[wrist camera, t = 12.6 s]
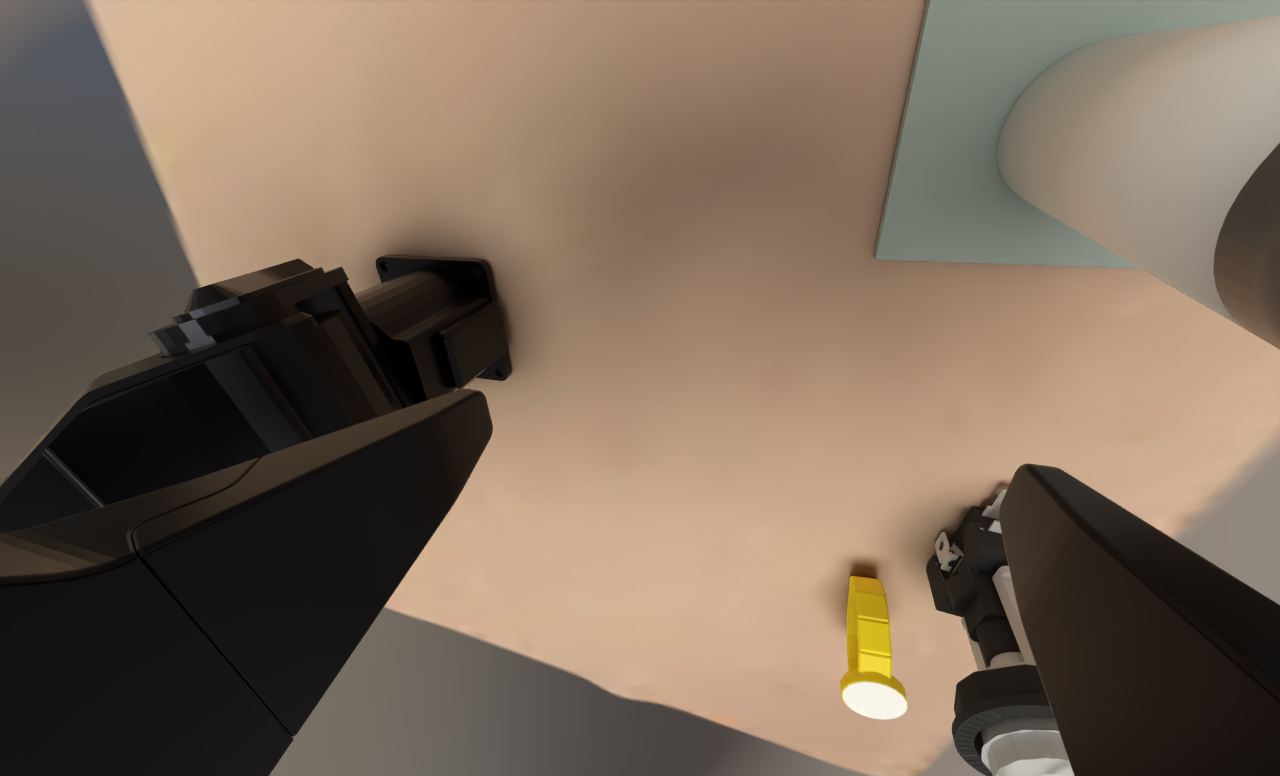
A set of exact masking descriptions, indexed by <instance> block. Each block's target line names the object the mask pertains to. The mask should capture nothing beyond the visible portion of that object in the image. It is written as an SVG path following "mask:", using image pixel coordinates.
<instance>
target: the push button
mask: <svg viewBox="0 0 1280 776" xmlns="http://www.w3.org/2000/svg"><path fill="white" fill-rule="evenodd" d="M1006 491H1007V489H1003V490H1002V491H1001V492H1000V494H999V495H998V497H997V499H996V500H995V502H994V503H993V505H992V506H989V505H988V506H987V507H986V509H985V510H980V509H975V508H972V509H971V510H970V511H969V513H968V514H967V516H966V518H965V519H964V521H963V522H962V524H961V526H960V527H959V529H958V530H957V532H956V534H955V535H954V537H953V539H952V540H951V542H950V543H949V541H948V538H947V535H946V533H945V532H941V534H940V536H939V538H938V539H937V541H936V543H935V549H936V553H937V556H938V559H937V558H931V559H930V561H929V562H928V564H927V568H926V572H927V576H928V580H929V583H930V587H931V591H932V595H933V599H934V603H935V607H936V609H937V610H938V611H942V612H945V613H949V614H953V615H956V616H960V617H963V618H962V620H961V621H962V625H963V628H964V629H965V630H966V631H967V635H968V638H969V641H970V645H971V648H972V651H973V655H974V658H975V661H976V664H977V668H978V671H977V672H974V673H972V674H970V675H969V676H967V677H966V678H964V679H963V680H961V681H960V682H958V684H957V686H956V695H955V704H954V711H955V715H956V717H955V719H954V721H953V724H952V734H953V738H954V743H955V746H956V749H957V751H958V753H959V754H960V755H961V757H962V758H963V759H964V760H965V761H966V762H967V763H968V764H969V765H971V766H972V767H973V768H975V769H976V770H977V771H979V772H981V773H982V774H984V775H986V776H1074V773H1073V771H1072V768H1071V765H1070V762H1069V759H1068V756H1067V753H1066V750H1065V747H1064V744H1063V742H1062V739H1061V736H1060V733H1059V730H1058V727H1057V724H1056V721H1055V718H1054V715H1053V713H1052V710H1051V707H1050V704H1049V701H1048V698H1047V695H1046V692H1045V689H1044V686H1043V684H1042V681H1041V678H1040V675H1039V672H1038V669H1037V666H1036V663H1035V660H1034V657H1033V655H1032V652H1031V649H1030V646H1029V643H1028V640H1027V637H1026V634H1025V631H1024V628H1023V625H1022V622H1021V618H1020V615H1019V611H1018V607H1017V603H1016V598H1015V593H1014V589H1013V584H1012V579H1011V575H1010V570H1009V565H1008V560H1007V556H1006V551H1005V546H1004V541H1003V537H1002V532H1001V527H1000V522H999V508H1000V505H1001V502H1002V500H1003V498H1004V496H1005V493H1006ZM942 541H943V543H944V547H943V550H942V551H941V548H940V547H941V543H942Z"/></svg>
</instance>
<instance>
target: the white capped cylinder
mask: <svg viewBox="0 0 1280 776" xmlns="http://www.w3.org/2000/svg"><path fill="white" fill-rule="evenodd" d="M997 160H998V167H999V170H1000V173H1001V176H1002V178H1003V180H1004V182H1005V184H1006V185H1007V186H1008V187H1009V189H1010V190H1011V191H1012V192H1013V193H1014V194H1016V195H1017V196H1018V197H1020V198H1022V199H1023V200H1025V201H1027V202H1028V203H1030V204H1032V205H1033V206H1035V207H1037V208H1039V209H1040V210H1042V211H1044V212H1045V213H1047V214H1049V215H1051V216H1052V217H1054V218H1056V219H1057V220H1059V221H1061V222H1063V223H1064V224H1066V225H1068V226H1069V227H1071V228H1073V229H1075V230H1076V231H1078V232H1080V233H1081V234H1083V235H1085V236H1086V237H1088V238H1090V239H1092V240H1093V241H1095V242H1097V243H1098V244H1100V245H1102V246H1104V247H1105V248H1107V249H1109V250H1110V251H1112V252H1114V253H1116V254H1117V255H1119V256H1121V257H1122V258H1124V259H1126V260H1128V261H1129V262H1131V263H1133V264H1134V265H1136V266H1138V267H1140V268H1141V269H1143V270H1145V271H1146V272H1148V273H1150V274H1152V275H1153V276H1155V277H1157V278H1158V279H1160V280H1162V281H1164V282H1165V283H1167V284H1169V285H1170V286H1172V287H1174V288H1176V289H1177V290H1179V291H1181V292H1182V293H1184V294H1186V295H1187V296H1189V297H1191V298H1193V299H1194V300H1196V301H1198V302H1199V303H1201V304H1203V305H1205V306H1206V307H1208V308H1210V309H1211V310H1213V311H1215V312H1217V313H1218V314H1220V315H1222V316H1223V317H1225V318H1227V319H1229V320H1230V321H1232V322H1234V323H1235V324H1237V325H1239V326H1241V327H1242V328H1244V329H1246V330H1247V331H1249V332H1251V333H1253V334H1254V335H1256V336H1258V337H1259V338H1261V339H1263V340H1265V341H1266V342H1268V343H1270V344H1271V345H1273V346H1275V347H1277V348H1278V349H1280V16H1272V17H1265V18H1257V19H1249V20H1241V21H1234V22H1226V23H1218V24H1211V25H1203V26H1195V27H1187V28H1180V29H1172V30H1164V31H1157V32H1149V33H1141V34H1133V35H1126V36H1118V37H1113V38H1108V39H1104V40H1101V41H1097V42H1094V43H1091V44H1089V45H1086V46H1084V47H1082V48H1080V49H1077V50H1075V51H1074V52H1072V53H1070V54H1068V55H1066V56H1064V57H1063V58H1061V59H1060V60H1058V61H1057V62H1055V63H1054V64H1052V65H1051V66H1050V67H1049V68H1047V69H1046V70H1045V71H1044V72H1042V73H1041V74H1040V75H1039V76H1038V77H1037V78H1036V79H1035V80H1034V81H1033V82H1032V83H1031V84H1030V85H1029V86H1028V87H1027V88H1026V89H1025V91H1024V92H1023V93H1022V94H1021V95H1020V97H1019V98H1018V100H1017V101H1016V102H1015V104H1014V105H1013V107H1012V109H1011V110H1010V112H1009V114H1008V116H1007V118H1006V120H1005V122H1004V125H1003V127H1002V130H1001V134H1000V137H999V142H998V148H997Z"/></svg>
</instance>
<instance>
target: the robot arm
mask: <svg viewBox="0 0 1280 776" xmlns="http://www.w3.org/2000/svg"><path fill="white" fill-rule="evenodd" d="M386 264H387V266H388V267H387V266H386ZM376 267H377V270H378V273H379V276H380V279H381V282H382V283H381V284H379V285H376V286H374V287H372V288H369V289H367V290H364V291H362V292H360V293H357V294H355V295H354V293H353V291H352V290H351V288H350V286H349V284H348V282H347V280H349V279H348V277H347V275H346V274H345V272H344V270H343V268H342V267H339V268H335V269H332V270H329V271H325V272H324V271H323V269H322V267H320V268H315V269H314V268H313V267H311V266H310V265H308V264H306V263H305V262H303V261H302V260H300V259H296V260H292V261H289V262H286V263H283V264H279V265H276V266H273V267H269V268H266V269H263V270H259V271H256V272H253V273H249V274H246V275H242V276H239V277H235V278H232V279H228V280H225V281H221V282H218V283H214V284H211V285H208V286H204V287H201V288H198V289H195V290H192V293H191V295H190V298H189V300H188V303H187V305H186V308H185V311H184V313H181V314H178V315H176V316H173V317H171V319H172V321H173V322H174V323H172V324H169V325H167V326H164V327H162V328H159V329H157V330H154V331H152V332H149V333H147V335H148V336H149V337H150V338H151V340H152V341H153V342H154V343H155V345H156V346H157V347H158V348H159V350H160V353H158V354H155V355H152V356H150V357H147V358H144V359H142V360H139V361H136V362H133V363H131V364H129V365H125V366H123V367H120V368H118V369H115V370H112V371H109V372H107V373H104V374H102V375H100V376H98V377H97V378H95V379H94V380H93V381H92V382H90V383H89V385H88V386H87V387H86V388H85V389H84V390H83V391H82V393H80V395H79V396H78V397H77V398H76V399H75V400H74V401H73V403H72V404H71V405H70V406H69V407H68V408H67V409H66V410H65V412H63V414H62V415H61V416H60V417H59V418H58V419H57V420H56V421H55V423H54V424H53V425H52V426H51V427H50V428H49V429H48V430H47V432H46V433H45V434H44V435H43V436H42V437H41V438H40V439H39V441H38V442H37V443H36V444H35V445H34V446H33V447H32V448H31V450H30V451H29V452H28V453H27V454H26V455H25V456H24V457H23V459H22V460H21V461H20V462H19V463H18V464H17V465H16V467H14V469H13V470H12V471H11V472H10V473H8V474H7V475H5V476H3V477H1V478H0V776H269V775H270V773H271V772H272V770H273V769H274V767H275V766H276V764H277V763H278V762H279V760H280V759H281V757H282V756H283V754H284V753H285V751H286V750H287V748H288V747H289V745H290V744H291V743H292V741H293V736H295V735H296V734H297V733H298V732H299V730H300V729H301V727H302V726H303V724H304V723H305V721H306V720H307V718H308V717H309V716H310V714H311V713H312V711H313V710H314V708H315V707H316V705H317V704H318V702H319V701H320V699H321V698H322V697H323V695H324V694H325V692H326V690H327V689H328V687H329V686H330V685H331V683H332V682H333V680H334V679H335V678H336V676H337V675H338V673H339V672H340V670H341V669H342V667H343V666H344V664H345V663H346V661H347V660H348V658H349V657H350V655H351V654H352V652H353V651H354V650H355V648H356V647H357V645H358V644H359V642H360V641H361V639H362V638H363V637H364V635H365V634H366V632H367V631H368V629H369V628H370V626H371V625H372V623H373V622H374V620H375V619H376V617H377V616H378V615H379V613H380V612H381V610H382V609H383V607H384V606H385V604H386V603H387V601H388V600H389V599H390V597H391V596H392V594H393V593H394V591H395V590H396V588H397V587H398V585H399V584H400V582H401V581H402V579H403V578H404V577H405V575H406V574H407V572H408V571H409V569H410V568H411V566H412V565H413V563H414V562H415V560H416V559H417V558H418V556H419V555H420V553H421V552H422V550H423V549H424V547H425V546H426V544H427V543H428V541H429V540H430V539H431V537H432V536H433V534H434V533H435V531H436V530H437V528H438V527H439V525H440V524H441V522H442V521H443V519H444V518H445V517H446V515H447V514H448V512H449V511H450V509H451V508H452V506H453V505H454V503H455V501H456V500H457V498H458V496H459V495H460V493H461V491H462V490H463V488H464V486H465V484H466V482H467V480H468V479H469V477H470V475H471V473H472V471H473V469H474V468H475V466H476V464H477V462H478V460H479V458H480V457H481V455H482V453H483V451H484V449H485V447H486V446H487V444H488V442H489V440H490V438H491V435H492V430H493V426H492V421H491V417H490V413H489V409H488V405H487V400H486V397H485V395H484V394H483V393H482V392H481V391H477V390H470V389H462V388H464V387H465V386H466V385H467V384H468V383H470V382H471V381H472V380H473V379H475V378H483V379H491V380H499V381H504V380H506V379H507V378H508V377H509V376H510V375H511V366H510V361H509V356H508V351H507V350H508V348H507V343H506V338H505V333H504V328H503V323H502V318H501V313H500V308H499V306H498V303H497V298H496V293H495V288H494V283H493V278H492V273H491V269H490V266H489V265H488V263H487V262H485V261H484V260H481V259H466V258H443V257H420V256H398V255H385V256H382V257H379V258H378V259H377V260H376ZM477 267H479V268H480V269H481V271H482V274H480V273H479V272H478V270H477ZM499 369H501V370H502V371H503V373H502V372H501V371H500V370H499ZM457 389H459V390H457ZM455 390H457V391H455ZM999 522H1000V527H1001V532H1002V537H1003V541H1004V546H1005V551H1006V556H1007V560H1008V565H1009V570H1010V575H1011V579H1012V584H1013V589H1014V593H1015V598H1016V603H1017V607H1018V611H1019V615H1020V618H1021V622H1022V625H1023V628H1024V631H1025V634H1026V637H1027V640H1028V643H1029V646H1030V649H1031V652H1032V655H1033V657H1034V660H1035V663H1036V666H1037V669H1038V672H1039V675H1040V678H1041V681H1042V684H1043V686H1044V689H1045V692H1046V695H1047V698H1048V701H1049V704H1050V707H1051V710H1052V713H1053V715H1054V718H1055V721H1056V724H1057V727H1058V730H1059V733H1060V736H1061V739H1062V742H1063V744H1064V747H1065V750H1066V753H1067V756H1068V759H1069V762H1070V765H1071V768H1072V771H1073V773H1074V776H1280V605H1278V604H1277V603H1276V602H1274V601H1272V600H1271V599H1269V598H1267V597H1266V596H1264V595H1263V594H1261V593H1259V592H1258V591H1256V590H1255V589H1253V588H1251V587H1250V586H1248V585H1247V584H1245V583H1243V582H1242V581H1240V580H1238V579H1237V578H1235V577H1234V576H1232V575H1230V574H1229V573H1227V572H1226V571H1224V570H1222V569H1221V568H1219V567H1217V566H1216V565H1214V564H1213V563H1211V562H1209V561H1208V560H1206V559H1205V558H1203V557H1201V556H1200V555H1198V554H1197V553H1195V552H1193V551H1192V550H1190V549H1188V548H1187V547H1185V546H1184V545H1182V544H1180V543H1179V542H1177V541H1176V540H1174V539H1172V538H1171V537H1169V536H1168V535H1166V534H1164V533H1163V532H1161V531H1159V530H1158V529H1156V528H1155V527H1153V526H1151V525H1150V524H1148V523H1147V522H1145V521H1143V520H1142V519H1140V518H1139V517H1137V516H1135V515H1134V514H1132V513H1130V512H1129V511H1127V510H1126V509H1124V508H1122V507H1121V506H1119V505H1118V504H1116V503H1114V502H1113V501H1111V500H1109V499H1108V498H1106V497H1105V496H1103V495H1101V494H1100V493H1098V492H1097V491H1095V490H1093V489H1092V488H1090V487H1089V486H1087V485H1085V484H1084V483H1082V482H1080V481H1079V480H1077V479H1076V478H1074V477H1072V476H1071V475H1069V474H1068V473H1066V472H1064V471H1063V470H1061V469H1059V468H1056V467H1051V466H1043V465H1035V464H1024V465H1021V466H1020V467H1019V468H1018V469H1017V471H1016V472H1015V474H1014V476H1013V479H1012V481H1011V483H1010V485H1009V487H1008V489H1007V491H1006V493H1005V496H1004V498H1003V500H1002V502H1001V505H1000V508H999Z"/></svg>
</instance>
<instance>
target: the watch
mask: <svg viewBox="0 0 1280 776" xmlns="http://www.w3.org/2000/svg"><path fill="white" fill-rule="evenodd" d="M849 580H850V583H849V593H848V604H847V656H848V671H849V672H847V673H846V674H845V675H844V676H843V677H842V679H841V682H840V683H841V695H842V699H843V701H844V702H845V703H846V705H847V706H848V707H850V708H851V709H852V710H853V711H855V712H857V713H859V714H861V715H863V716H867V717H870V718H875V719H893V718H897V717H900V716H901V715H903V714H904V713H905V711H906V710H907V699H906V693H905V689H904V687H903V685H902V684H901V683H900V682H899V681H898V680H897V679H896V678H894V677H893V676H892V657H891V656H890V655H891V654H892V650H891V634H890V625H889V614H888V607H887V600H886V595H885V591H884V588H883V585H882V582H881V581H880V580H879V579H872V578H865V577H857V576H851V577H849Z"/></svg>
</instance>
